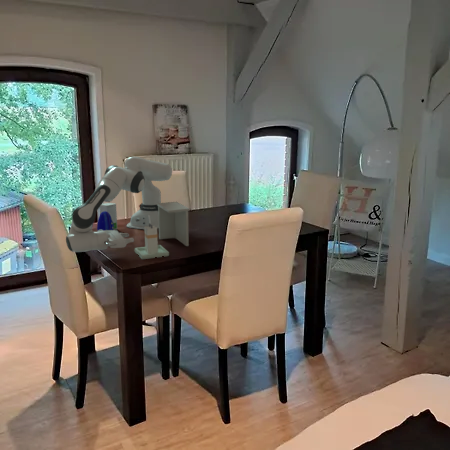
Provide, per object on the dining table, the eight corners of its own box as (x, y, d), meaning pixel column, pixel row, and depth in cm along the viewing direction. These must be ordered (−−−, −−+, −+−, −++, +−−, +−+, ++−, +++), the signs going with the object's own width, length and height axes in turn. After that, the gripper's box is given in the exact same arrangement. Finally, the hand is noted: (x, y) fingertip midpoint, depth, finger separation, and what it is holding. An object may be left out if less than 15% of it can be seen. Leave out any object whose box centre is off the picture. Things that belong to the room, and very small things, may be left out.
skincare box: (107, 232, 284) (106, 205, 280) (99, 230, 287) (98, 204, 283) (118, 229, 291) (116, 203, 287) (109, 227, 294) (108, 202, 290)
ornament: (114, 239, 268) (113, 213, 264) (97, 240, 266) (95, 213, 263) (114, 234, 279) (113, 208, 275) (98, 235, 277) (96, 209, 273)
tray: (142, 259, 236) (141, 255, 235) (134, 251, 248) (134, 248, 247) (168, 255, 241) (168, 252, 241) (160, 248, 253) (160, 244, 253)
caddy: (148, 254, 241) (147, 226, 238) (145, 251, 246) (144, 223, 242) (157, 253, 243) (157, 225, 240) (154, 250, 248) (154, 222, 244)
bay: (169, 248, 253) (168, 210, 248) (158, 239, 270) (157, 203, 265) (189, 246, 258) (189, 208, 253) (177, 236, 275) (176, 201, 270)
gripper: (106, 239, 222) (136, 236, 228) (97, 228, 240) (125, 226, 246) (107, 252, 224) (137, 249, 229) (98, 241, 242) (126, 238, 247)
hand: (131, 237), depth 238 cm, fingers open, 8 cm apart
